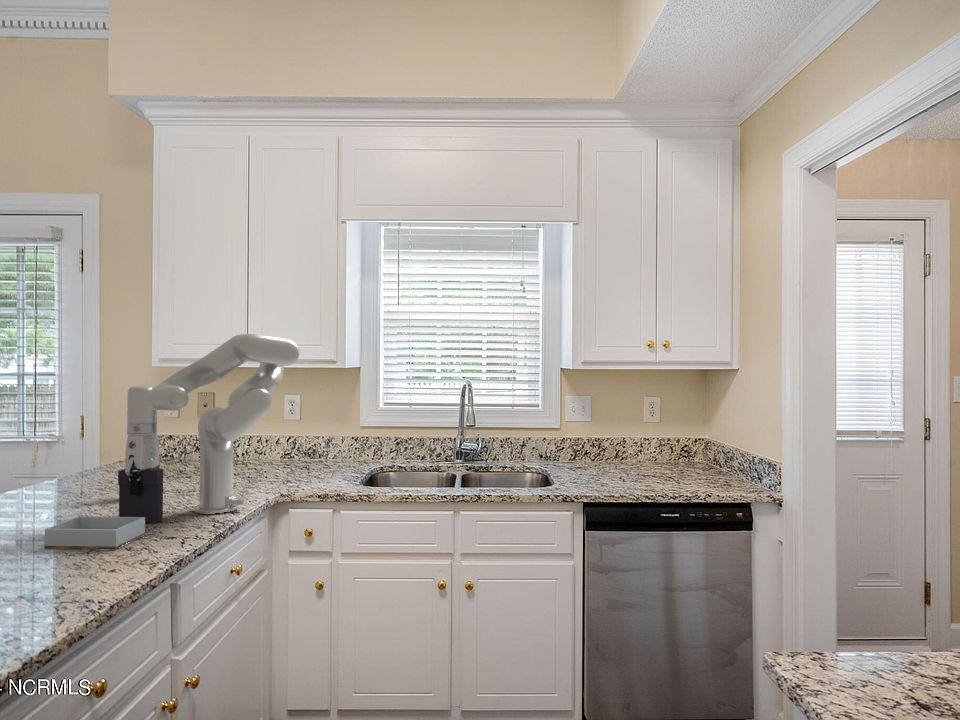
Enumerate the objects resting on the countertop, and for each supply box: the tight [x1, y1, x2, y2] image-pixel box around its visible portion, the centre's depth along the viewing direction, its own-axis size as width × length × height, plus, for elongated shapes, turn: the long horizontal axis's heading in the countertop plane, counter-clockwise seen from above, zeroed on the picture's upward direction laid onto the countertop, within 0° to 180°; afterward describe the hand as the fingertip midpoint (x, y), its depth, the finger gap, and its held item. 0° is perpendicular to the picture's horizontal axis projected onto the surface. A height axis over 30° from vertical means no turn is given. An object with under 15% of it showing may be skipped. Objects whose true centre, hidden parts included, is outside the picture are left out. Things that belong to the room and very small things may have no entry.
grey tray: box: [44, 515, 146, 547], centre depth 157 cm, size 18×13×4 cm
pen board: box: [44, 532, 146, 550], centre depth 157 cm, size 18×13×1 cm
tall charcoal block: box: [117, 468, 164, 523], centre depth 177 cm, size 11×4×15 cm, turn 92°
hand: (141, 492), depth 177 cm, fingers closed on tall charcoal block, 4 cm apart
